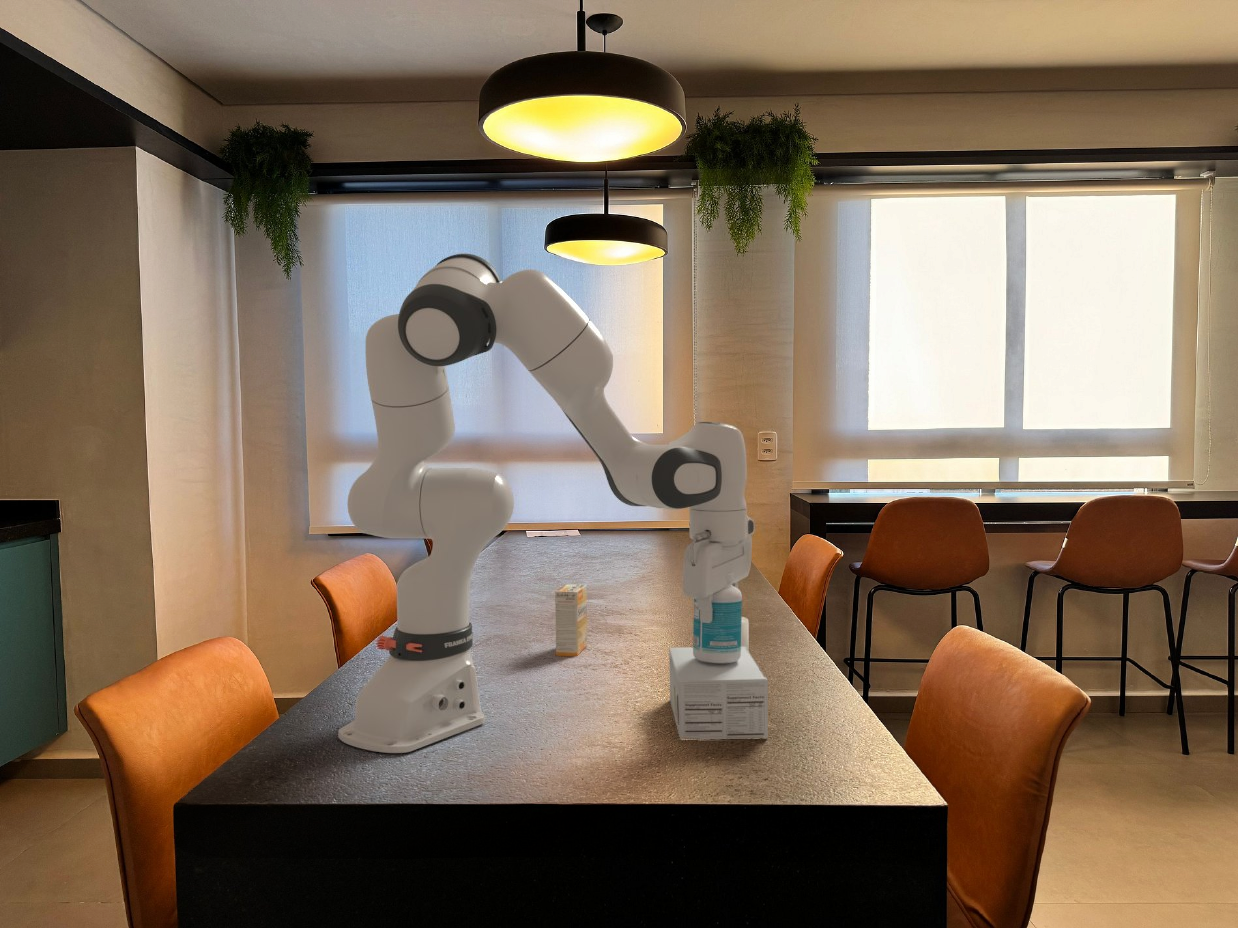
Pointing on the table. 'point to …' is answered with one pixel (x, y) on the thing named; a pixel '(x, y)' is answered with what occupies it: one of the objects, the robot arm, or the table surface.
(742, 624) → the white rounded cylinder
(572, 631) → the supplement box
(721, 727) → the supplement box
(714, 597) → the pill bottle
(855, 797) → the table surface
